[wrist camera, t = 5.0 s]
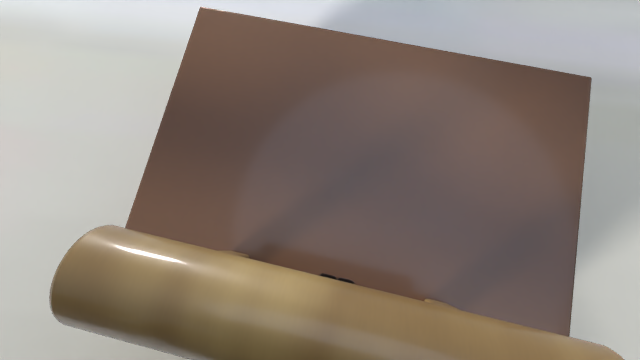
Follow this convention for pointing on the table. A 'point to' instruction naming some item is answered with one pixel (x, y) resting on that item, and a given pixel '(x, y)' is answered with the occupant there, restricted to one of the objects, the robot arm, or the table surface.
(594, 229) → the table surface
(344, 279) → the robot arm
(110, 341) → the table surface
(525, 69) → the lid
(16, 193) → the table surface
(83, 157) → the table surface
